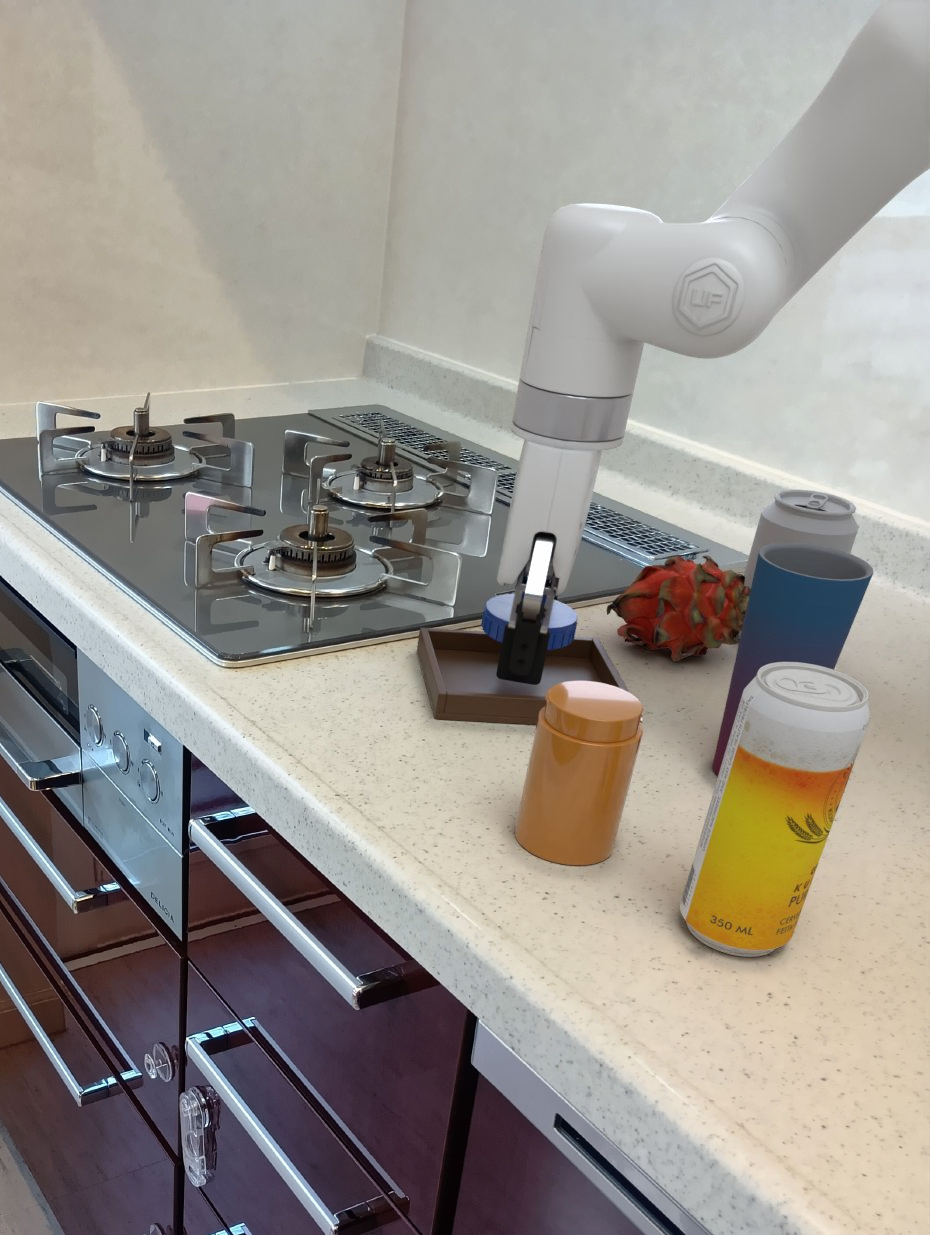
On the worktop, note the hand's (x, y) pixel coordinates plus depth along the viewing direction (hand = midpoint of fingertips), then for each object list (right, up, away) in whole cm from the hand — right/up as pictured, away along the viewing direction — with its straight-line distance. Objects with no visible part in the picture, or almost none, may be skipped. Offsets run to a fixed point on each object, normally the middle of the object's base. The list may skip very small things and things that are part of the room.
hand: (522, 659), depth 97 cm
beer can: (+7, -20, -24) cm, 32 cm away
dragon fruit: (+14, +2, +9) cm, 17 cm away
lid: (0, +3, -2) cm, 3 cm away
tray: (0, -2, +1) cm, 2 cm away
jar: (-1, -14, -17) cm, 22 cm away
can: (+24, +4, +13) cm, 27 cm away
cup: (+14, -9, -8) cm, 19 cm away
